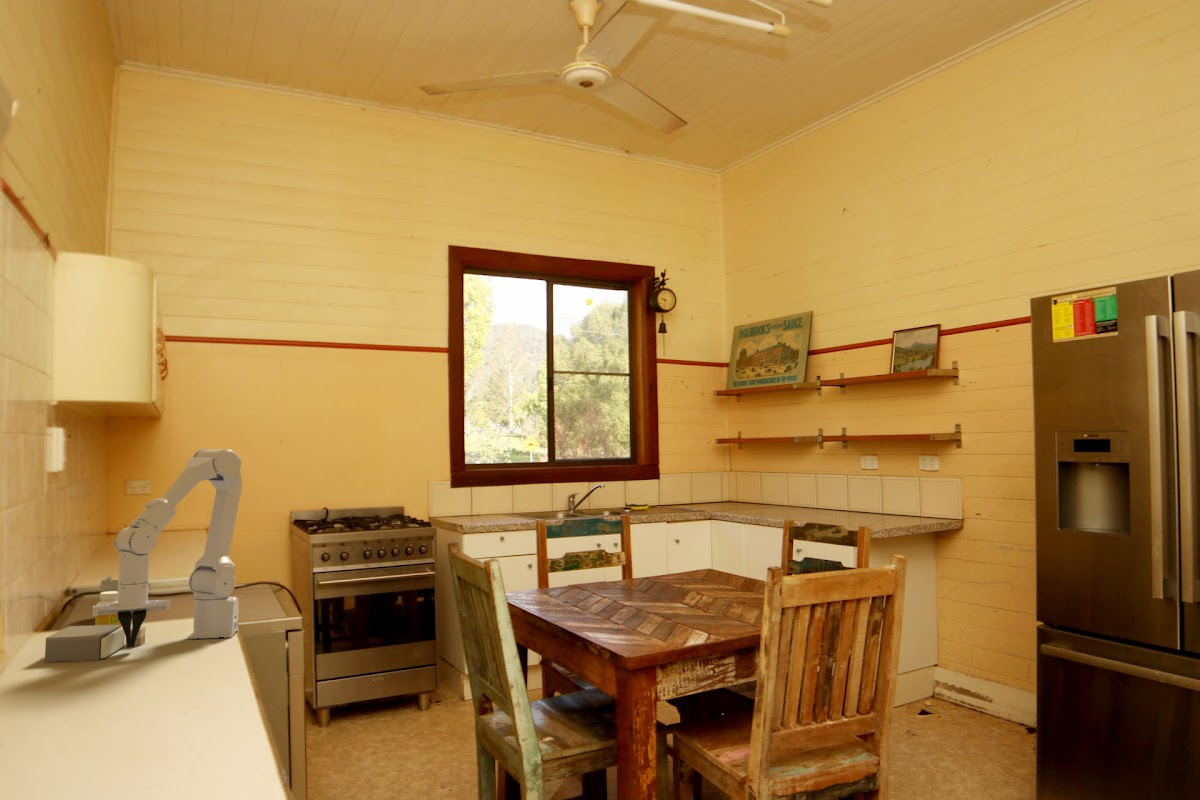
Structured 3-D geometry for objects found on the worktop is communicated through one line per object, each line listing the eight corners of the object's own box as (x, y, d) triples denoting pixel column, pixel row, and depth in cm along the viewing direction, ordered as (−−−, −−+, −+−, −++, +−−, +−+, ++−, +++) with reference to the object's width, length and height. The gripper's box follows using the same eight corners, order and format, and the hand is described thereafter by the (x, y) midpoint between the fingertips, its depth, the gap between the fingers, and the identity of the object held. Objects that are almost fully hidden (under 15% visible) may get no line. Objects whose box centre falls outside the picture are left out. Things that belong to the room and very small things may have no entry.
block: (144, 642, 180) (145, 626, 180) (140, 645, 177) (140, 629, 177) (130, 643, 180) (131, 627, 180) (125, 646, 177) (126, 630, 177)
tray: (124, 645, 176) (124, 627, 176) (104, 657, 165) (105, 638, 165) (73, 647, 173) (74, 629, 174) (50, 660, 163) (51, 640, 163)
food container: (86, 618, 205) (88, 579, 205) (107, 614, 211) (109, 576, 211) (123, 622, 201) (125, 582, 202) (143, 617, 207) (145, 578, 208)
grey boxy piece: (118, 647, 175) (119, 624, 176) (98, 660, 165) (99, 635, 165) (68, 649, 173) (69, 626, 174) (44, 662, 163) (45, 637, 163)
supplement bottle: (111, 636, 186) (113, 594, 186) (89, 636, 186) (91, 594, 186) (126, 631, 191) (127, 590, 192) (104, 631, 191) (106, 590, 192)
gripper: (170, 577, 179) (167, 638, 178) (94, 582, 172) (91, 646, 171) (172, 582, 173) (169, 645, 172) (93, 587, 166) (90, 653, 165)
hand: (130, 646), depth 171 cm, fingers closed
